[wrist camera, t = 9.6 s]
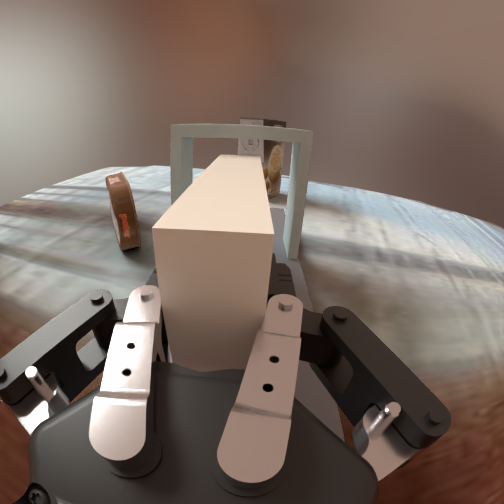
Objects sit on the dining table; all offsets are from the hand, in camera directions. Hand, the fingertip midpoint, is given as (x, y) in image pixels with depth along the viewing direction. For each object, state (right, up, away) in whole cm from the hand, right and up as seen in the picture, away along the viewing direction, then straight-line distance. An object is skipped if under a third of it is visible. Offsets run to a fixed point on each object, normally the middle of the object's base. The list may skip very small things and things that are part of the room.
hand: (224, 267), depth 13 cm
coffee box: (+3, +13, +43) cm, 45 cm away
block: (0, -4, +6) cm, 7 cm away
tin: (-16, +3, +21) cm, 27 cm away
